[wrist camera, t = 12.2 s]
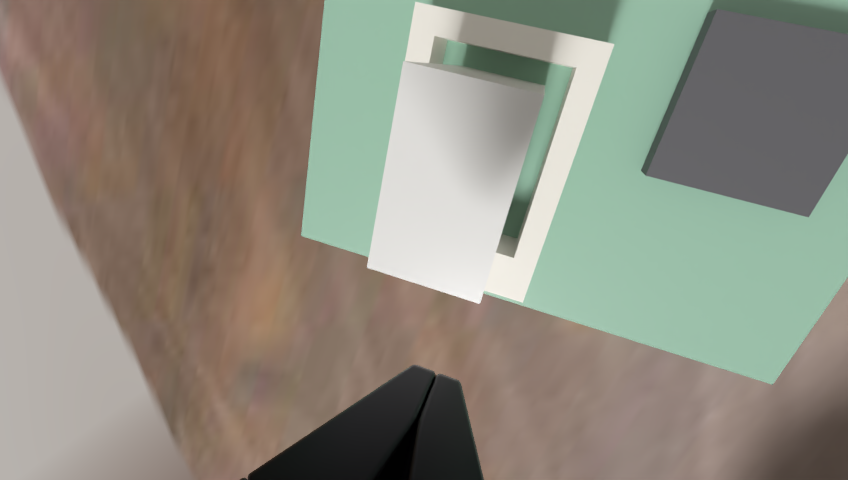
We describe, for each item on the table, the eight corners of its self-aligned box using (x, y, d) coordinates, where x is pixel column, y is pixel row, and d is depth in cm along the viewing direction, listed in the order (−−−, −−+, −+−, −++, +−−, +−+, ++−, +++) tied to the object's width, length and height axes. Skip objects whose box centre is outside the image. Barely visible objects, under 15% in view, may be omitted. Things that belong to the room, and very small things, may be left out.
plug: (544, 85, 15) (544, 94, 9) (498, 235, 17) (471, 330, 11) (461, 65, 15) (403, 61, 9) (427, 215, 18) (362, 293, 11)
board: (1026, -28, 12) (1168, -58, 9) (760, 368, 17) (800, 422, 15) (352, -138, 15) (309, -185, 12) (311, 228, 21) (276, 252, 18)
